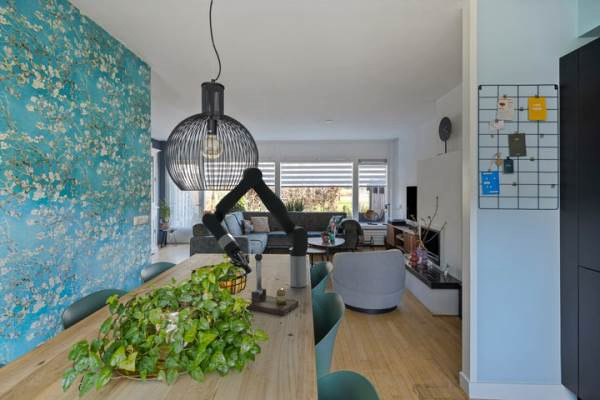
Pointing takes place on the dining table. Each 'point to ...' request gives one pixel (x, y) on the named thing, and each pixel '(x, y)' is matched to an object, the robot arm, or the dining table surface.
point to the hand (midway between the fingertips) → (249, 272)
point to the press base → (270, 304)
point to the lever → (258, 273)
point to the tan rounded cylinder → (281, 297)
